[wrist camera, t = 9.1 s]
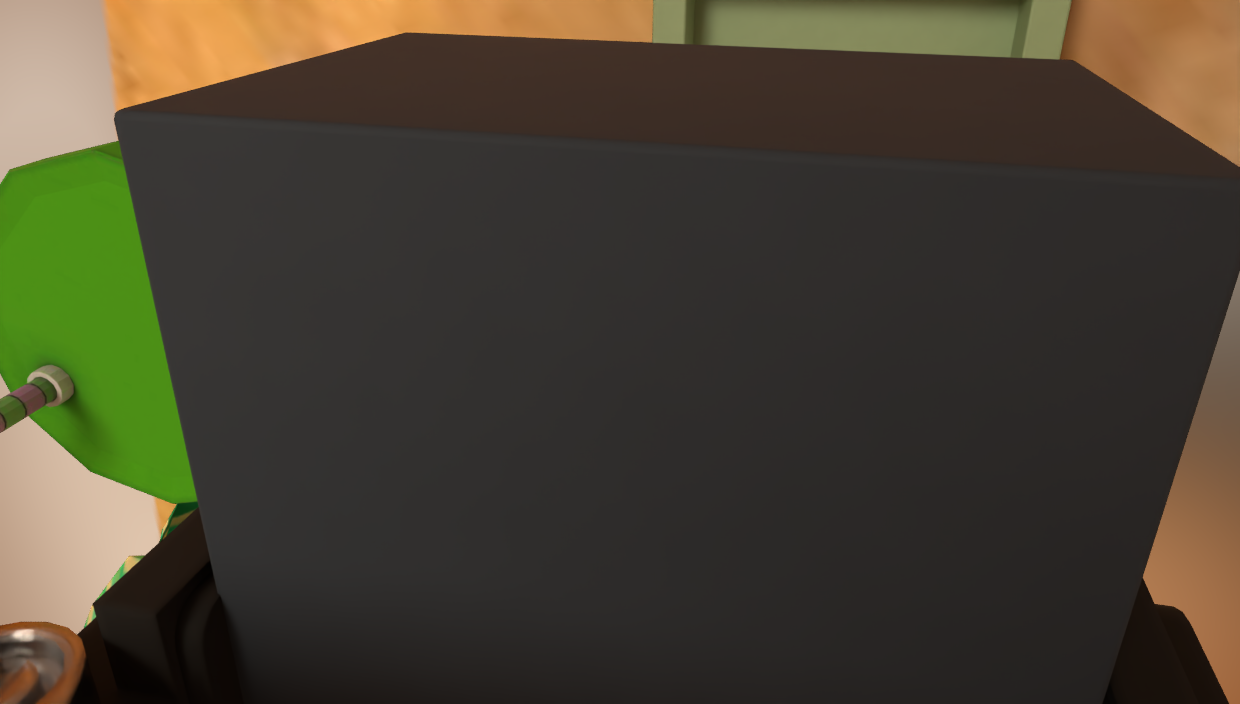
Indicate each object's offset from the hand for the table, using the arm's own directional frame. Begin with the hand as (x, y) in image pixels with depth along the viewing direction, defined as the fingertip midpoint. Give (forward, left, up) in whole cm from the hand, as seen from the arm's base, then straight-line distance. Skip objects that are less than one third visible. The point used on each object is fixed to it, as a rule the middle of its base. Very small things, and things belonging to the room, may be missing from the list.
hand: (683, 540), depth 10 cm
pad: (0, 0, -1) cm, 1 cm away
